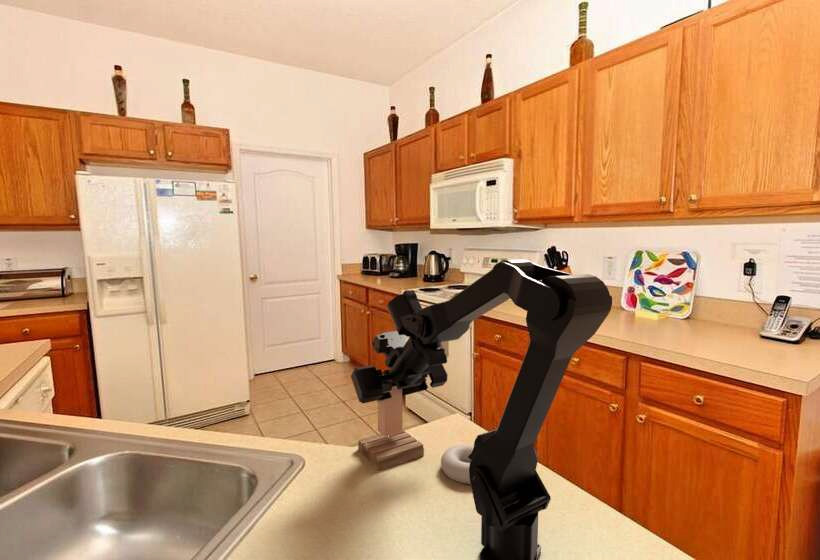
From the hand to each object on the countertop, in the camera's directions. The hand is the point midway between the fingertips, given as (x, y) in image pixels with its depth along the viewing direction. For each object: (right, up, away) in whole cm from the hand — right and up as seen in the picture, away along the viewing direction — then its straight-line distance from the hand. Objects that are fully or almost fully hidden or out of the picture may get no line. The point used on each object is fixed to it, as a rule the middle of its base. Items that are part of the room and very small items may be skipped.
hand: (386, 397), depth 81 cm
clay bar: (+1, -7, -1) cm, 7 cm away
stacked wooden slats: (+1, -11, -1) cm, 11 cm away
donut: (+15, -12, -8) cm, 21 cm away
